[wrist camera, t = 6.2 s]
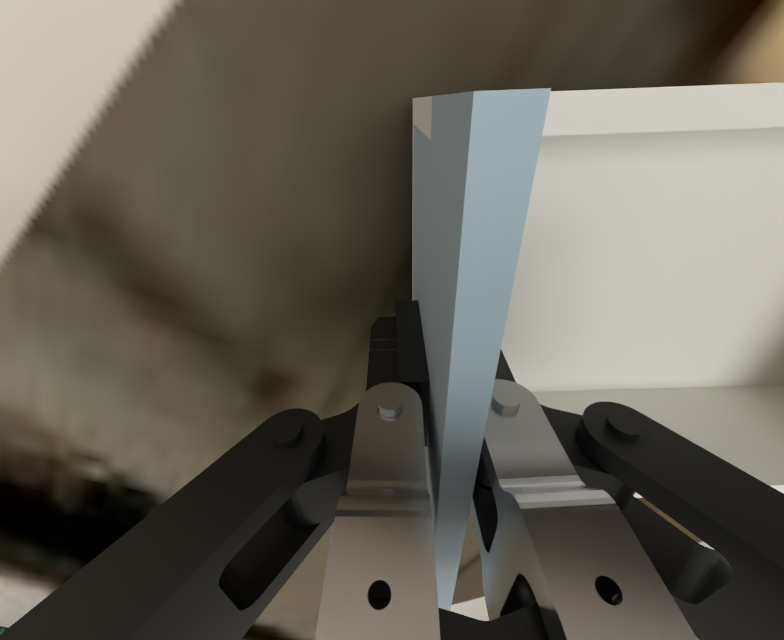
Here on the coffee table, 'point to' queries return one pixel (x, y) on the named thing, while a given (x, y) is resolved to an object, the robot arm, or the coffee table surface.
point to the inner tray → (600, 269)
